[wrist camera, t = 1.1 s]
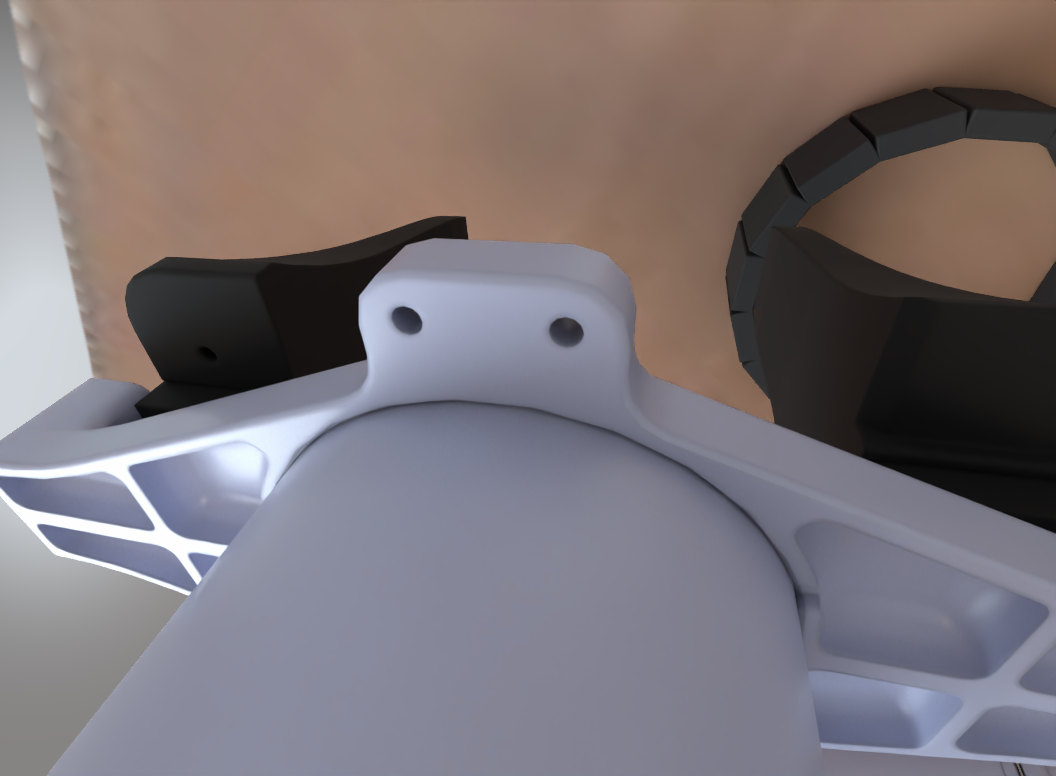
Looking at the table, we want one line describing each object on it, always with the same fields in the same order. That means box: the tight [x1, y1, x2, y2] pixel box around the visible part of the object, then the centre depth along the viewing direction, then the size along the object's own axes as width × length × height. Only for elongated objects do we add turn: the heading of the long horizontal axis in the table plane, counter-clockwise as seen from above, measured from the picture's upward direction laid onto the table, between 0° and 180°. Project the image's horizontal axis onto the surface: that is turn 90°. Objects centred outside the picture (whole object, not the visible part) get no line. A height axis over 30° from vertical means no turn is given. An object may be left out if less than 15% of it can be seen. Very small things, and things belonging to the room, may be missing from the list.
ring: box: [726, 87, 1056, 399], centre depth 20 cm, size 12×12×3 cm
